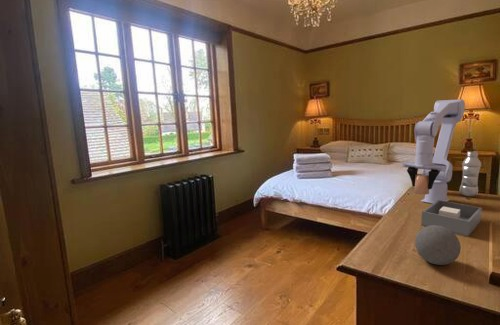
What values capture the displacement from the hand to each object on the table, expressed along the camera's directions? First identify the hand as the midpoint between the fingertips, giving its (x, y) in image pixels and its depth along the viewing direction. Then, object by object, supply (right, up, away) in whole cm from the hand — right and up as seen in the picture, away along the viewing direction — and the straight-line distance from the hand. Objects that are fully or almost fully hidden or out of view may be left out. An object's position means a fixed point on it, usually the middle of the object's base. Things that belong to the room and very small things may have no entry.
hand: (422, 187), depth 111 cm
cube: (+1, -11, -13) cm, 18 cm away
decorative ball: (-18, -17, -36) cm, 43 cm away
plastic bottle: (+31, -5, +17) cm, 36 cm away
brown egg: (0, -2, 0) cm, 2 cm away
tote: (+3, -12, -12) cm, 17 cm away
